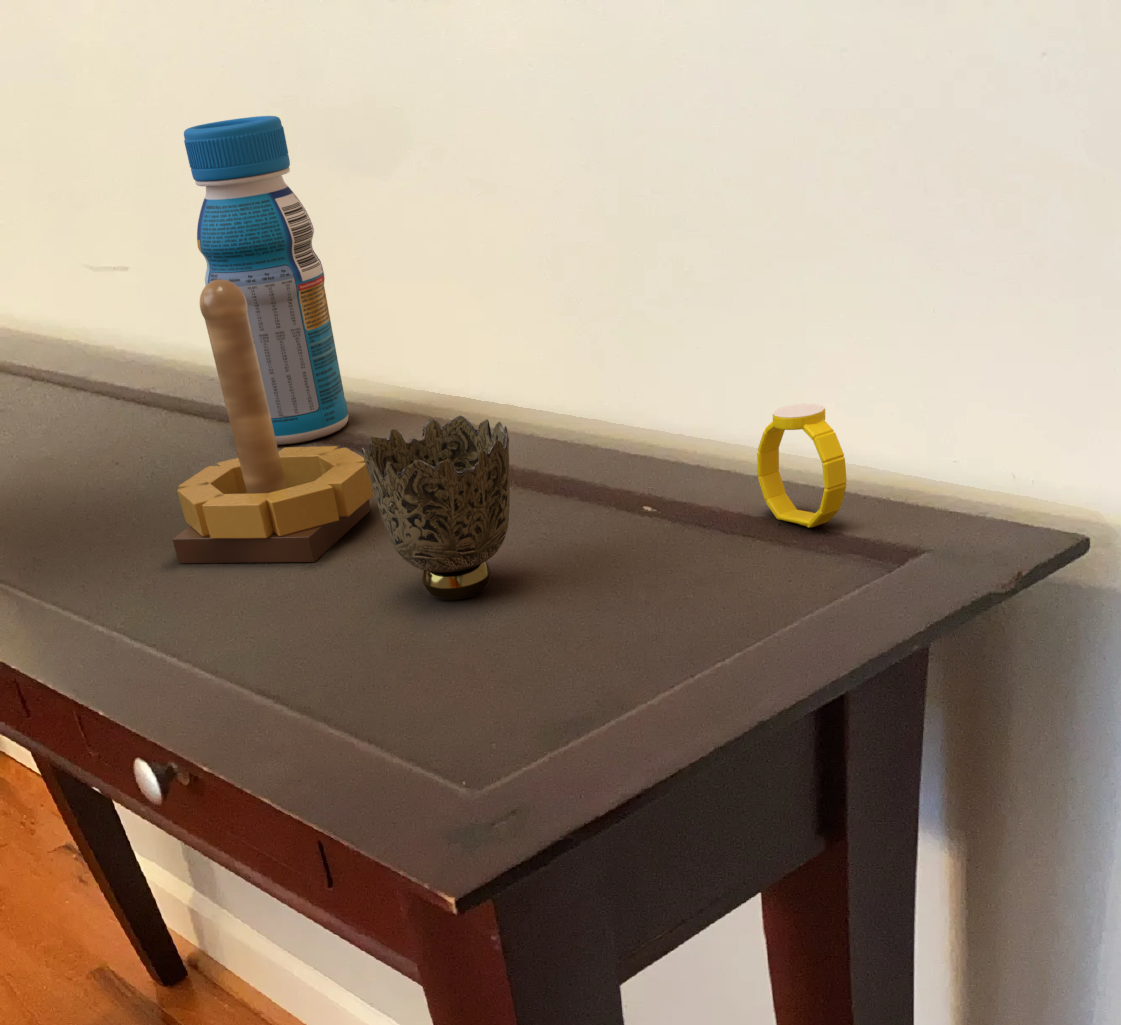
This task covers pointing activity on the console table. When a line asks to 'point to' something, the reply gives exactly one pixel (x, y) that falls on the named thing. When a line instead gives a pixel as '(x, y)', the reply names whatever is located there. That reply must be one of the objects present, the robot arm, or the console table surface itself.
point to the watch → (829, 453)
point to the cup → (444, 501)
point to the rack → (250, 442)
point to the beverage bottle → (269, 269)
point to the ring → (277, 495)
